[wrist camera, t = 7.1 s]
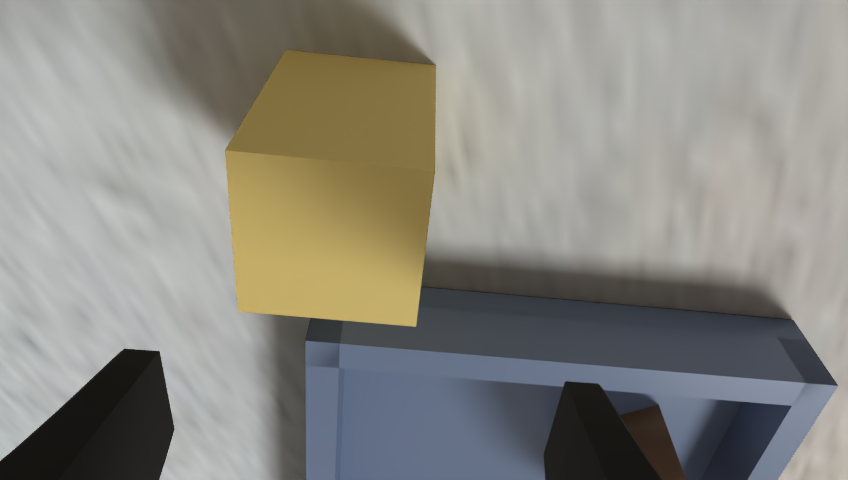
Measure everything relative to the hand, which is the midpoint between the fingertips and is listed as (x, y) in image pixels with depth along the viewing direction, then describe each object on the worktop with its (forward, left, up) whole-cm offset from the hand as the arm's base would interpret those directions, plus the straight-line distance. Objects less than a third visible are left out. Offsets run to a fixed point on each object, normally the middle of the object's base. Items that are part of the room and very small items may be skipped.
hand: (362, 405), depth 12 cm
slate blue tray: (-6, +11, -9) cm, 15 cm away
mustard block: (+1, -1, -9) cm, 9 cm away
